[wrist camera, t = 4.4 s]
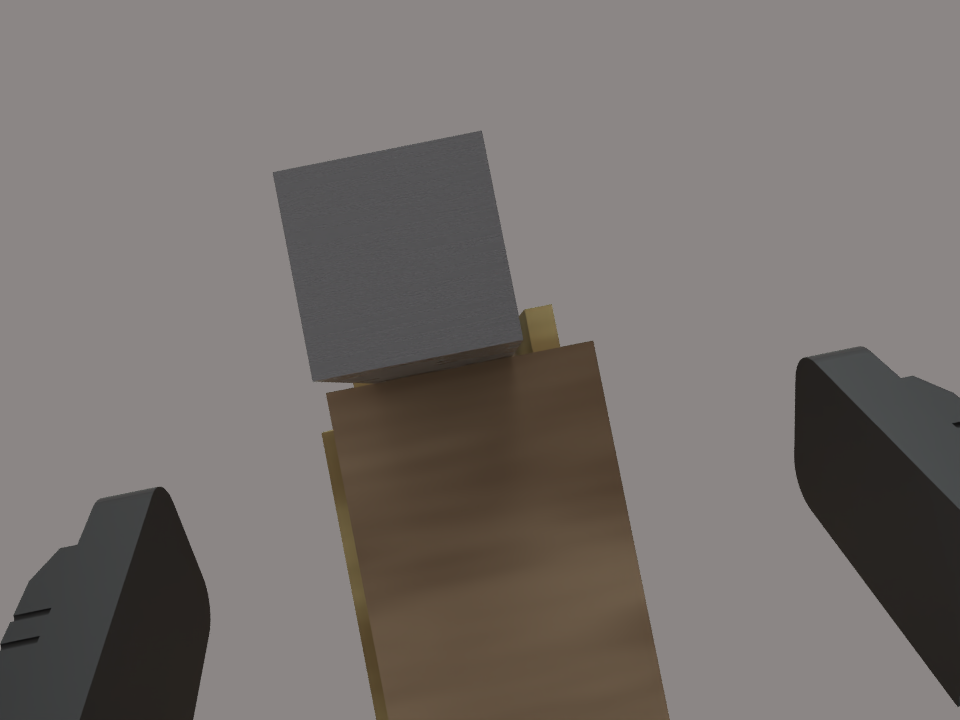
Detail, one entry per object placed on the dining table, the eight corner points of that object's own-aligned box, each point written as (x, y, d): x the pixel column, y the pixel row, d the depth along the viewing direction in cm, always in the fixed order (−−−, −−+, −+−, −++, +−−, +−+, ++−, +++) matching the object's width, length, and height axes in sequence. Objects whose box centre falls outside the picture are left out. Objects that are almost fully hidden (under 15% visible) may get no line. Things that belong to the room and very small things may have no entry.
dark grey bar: (418, 385, 37) (401, 299, 37) (504, 368, 37) (487, 282, 37) (312, 381, 15) (272, 172, 15) (523, 339, 15) (481, 130, 15)
